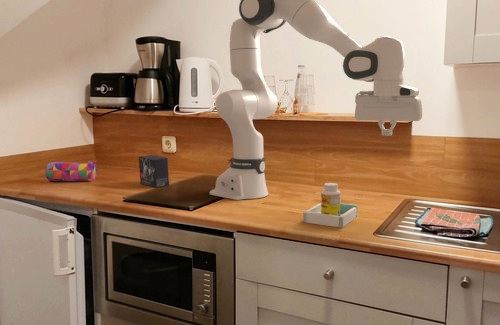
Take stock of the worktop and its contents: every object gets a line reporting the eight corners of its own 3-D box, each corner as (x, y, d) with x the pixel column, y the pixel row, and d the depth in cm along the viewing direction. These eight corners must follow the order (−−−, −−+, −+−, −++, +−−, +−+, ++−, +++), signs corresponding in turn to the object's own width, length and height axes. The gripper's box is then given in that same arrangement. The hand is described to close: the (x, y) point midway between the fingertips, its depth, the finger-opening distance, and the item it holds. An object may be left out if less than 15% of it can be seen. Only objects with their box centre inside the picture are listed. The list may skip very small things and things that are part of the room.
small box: (139, 183, 198) (138, 156, 196) (153, 181, 202) (152, 154, 200) (155, 188, 188) (153, 159, 186) (169, 185, 192) (168, 157, 191)
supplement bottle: (318, 215, 140) (318, 182, 139) (335, 214, 141) (336, 181, 140) (325, 220, 135) (325, 186, 133) (343, 219, 136) (343, 185, 134)
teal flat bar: (322, 211, 147) (322, 201, 147) (324, 210, 148) (324, 201, 148) (356, 215, 142) (356, 205, 141) (357, 214, 142) (357, 205, 142)
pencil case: (100, 178, 212) (99, 159, 211) (94, 182, 203) (92, 162, 202) (53, 179, 212) (51, 160, 210) (44, 183, 203) (42, 163, 201)
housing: (303, 222, 136) (303, 212, 136) (319, 212, 146) (319, 203, 146) (342, 227, 130) (342, 217, 130) (356, 217, 140) (356, 207, 140)
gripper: (352, 91, 145) (351, 135, 147) (419, 90, 135) (418, 137, 137) (358, 90, 150) (357, 133, 153) (424, 89, 140) (422, 135, 142)
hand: (386, 135), depth 145 cm, fingers closed
